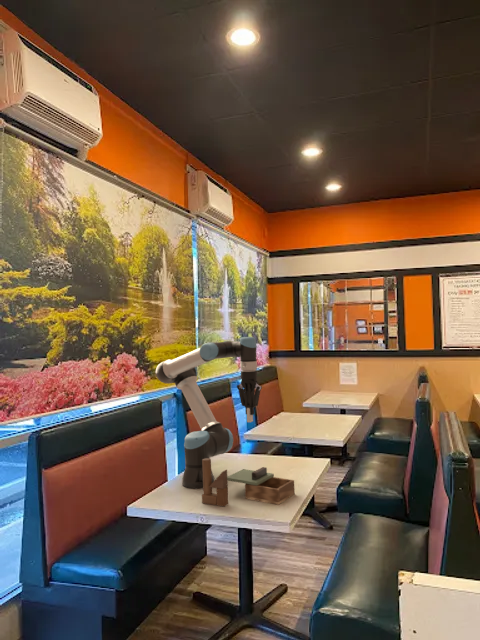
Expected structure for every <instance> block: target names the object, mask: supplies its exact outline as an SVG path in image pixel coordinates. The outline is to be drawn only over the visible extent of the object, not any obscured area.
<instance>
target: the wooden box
mask: <svg viewBox="0 0 480 640" xmlns="http://www.w3.org/2000/svg"><path fill="white" fill-rule="evenodd" d="M244 491H245V493H244V494H245V495H244V496H245V499H246V500H250V501H251V500H252V501H256V502H262V503H267V504H272V505H277V506H279V505H280V504H282V503H284V502H285V501H287V500H289V499H291V497H293V496H294V495H295V480H294V479H289V478H282V477H275V476H274V477H272V478H270V479H268V480H266V481H264V482H263V483H261V484H259V485H257V486H256V485H250V484H245V483H244Z"/></svg>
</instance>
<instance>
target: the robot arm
mask: <svg viewBox="0 0 480 640" xmlns="http://www.w3.org/2000/svg"><path fill="white" fill-rule="evenodd" d="M257 347H258V345H257V339H256V338H255V337H254V336H243V337H242V336H241V337H240V338H239V341H235V340H226V341H225V340H224V341H218V342H217V341H216V342H214V341H213V342H211V341H210V342H206V343H203V344H202V345H201V346H200V347H199V348H196V349H194V350H192V351H190V352H187V353H184V354H182V355H180V356H178V357H176V358H173V359H166V360H164V361H162V362H160V363H159V364H158V365H157V366H156V367H155V368H156V369H155V375H156V378H157V380H158V381H160V382H161V383H164V384H175V387H176V389H177V390H181V392H182V394H183V396H184V398H185V400H186V402H187V405H188V406H189V408H190V409H191V412H192V414H193V416H194V418H195V420H196V422H197V424H198V425H199V428H200V429H201V430H197V431H192V432H189V433H188V434H186V435H185V437H184V443H183V447H184V463H185V464H184V465H185V466H184V467H185V468H184V471H183V474H182V475H183V476H182V479H181V482H182V484H181V485H182V486H183V487H184V488H189V489H203V466H202V460H203V459H205V458H209V459H211V458H213V457H216V456H220V455H224V454H225V453H228V452H229V451H231V450H232V448H233V445H234V444H233V443H234V435H233V433H232V431H231V430H230V429H229V428H226V427H224V426H223V424H222V422H220V421H217V419H216V418H215V415H214V414H213V412H212V410H211V408H210V406H209V404H208V402H207V400H206V398H205V397H204V394H203V393H202V391H201V389H200V387H199V385H198V383H197V380H198V377H197V376H198V367H199V366H201V365H203V364H205V363H206V364H207V363H209V362H211V361H214V360H217V359H218V360H219V359H226V358H227V359H228V358H240V359H239V360H240V370H241V371H240V379H241V381H240V383H239V384H237V385H236V389H237V390H238V394H239V400H240V403H241V406H242V407H244V408H245V415H246V422H247V423H252V422H254V415H255V407H258V405H259V402H260V395H261V391H262V389H263V386H262V385H259V384H258V380H257V379H258V371H257V369H258V365H257V364H258V363H257V362H258V361H257ZM211 476H212V483H213V482H214V481H215V480H216V479H215V475H214V473H213V470H212V469H211Z"/></svg>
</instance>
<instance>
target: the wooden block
mask: <svg viewBox="0 0 480 640" xmlns="http://www.w3.org/2000/svg"><path fill="white" fill-rule="evenodd" d="M202 466H203V488H202V489H203V493H202V495H201V503H202V504H204V505H205V504H207V505H213V506H218V507H226V506H228V505H229V488H228V487H229V486H228V485H229V481H227V477H228V469H225V470H223V471H222V472H221V473H220V474H219V475H218V476H217V477H216V478H215V479H214V480H215V481H214V482H213V483H212V476H211V470H212V459H211V458H210V459H209V458H205V459H203V460H202ZM213 489H216V490H215V491H216V493H213Z"/></svg>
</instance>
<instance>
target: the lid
mask: <svg viewBox="0 0 480 640" xmlns="http://www.w3.org/2000/svg"><path fill="white" fill-rule="evenodd" d="M267 471H268V469H267V467H265V466H263V467H260V468H258V469H256V470H251V469H245V468H242V469H241V470H239V471H238V470H237V472H236V471H235V472H234V473H232V474H230V475H227V481H228V482H235V483H239V484H240V483H241V484H244V485H245V484H250V485H256V486H257V485H259V484H261V483H263V482H264V481H266V480H268V479H270V478H272V477H275V476H274V475H275V474H274V473H272V472H267Z"/></svg>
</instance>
